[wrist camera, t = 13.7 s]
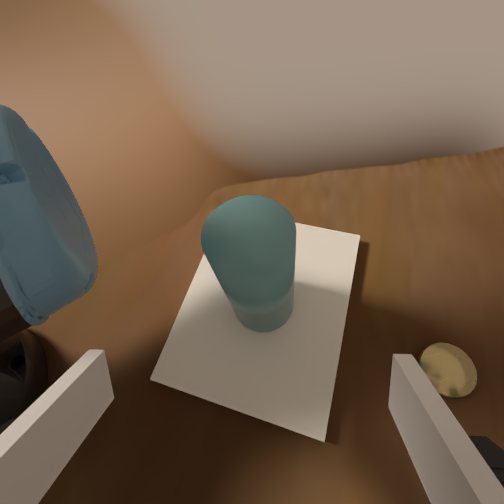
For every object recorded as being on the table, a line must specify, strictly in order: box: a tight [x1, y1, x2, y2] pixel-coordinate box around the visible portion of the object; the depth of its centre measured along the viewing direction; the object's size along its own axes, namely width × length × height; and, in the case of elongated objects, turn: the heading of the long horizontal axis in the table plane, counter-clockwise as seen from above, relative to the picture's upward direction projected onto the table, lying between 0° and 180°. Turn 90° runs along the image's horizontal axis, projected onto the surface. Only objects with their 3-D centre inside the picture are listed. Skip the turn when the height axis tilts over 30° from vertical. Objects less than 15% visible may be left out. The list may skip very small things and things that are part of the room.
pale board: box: [150, 223, 360, 442], centre depth 31 cm, size 16×20×1 cm
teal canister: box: [201, 195, 296, 332], centre depth 25 cm, size 6×6×13 cm
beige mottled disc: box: [417, 343, 477, 398], centre depth 26 cm, size 4×4×1 cm
